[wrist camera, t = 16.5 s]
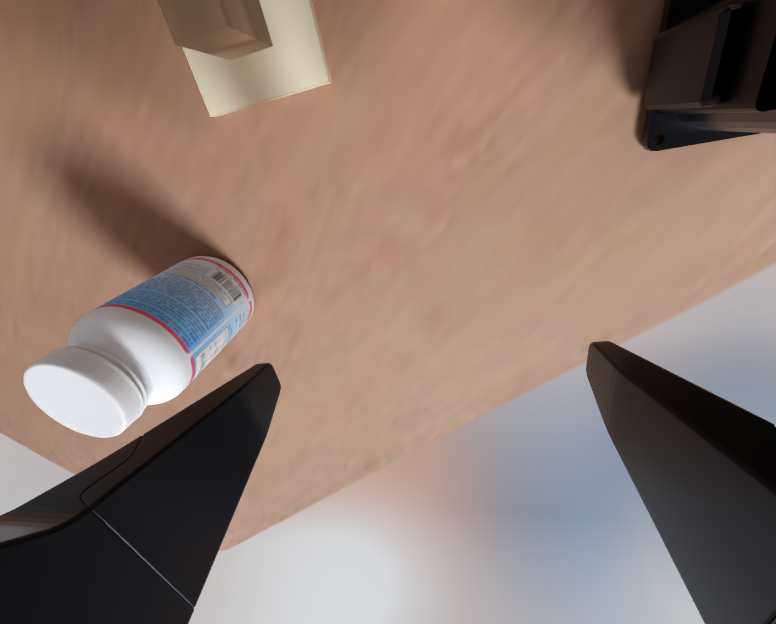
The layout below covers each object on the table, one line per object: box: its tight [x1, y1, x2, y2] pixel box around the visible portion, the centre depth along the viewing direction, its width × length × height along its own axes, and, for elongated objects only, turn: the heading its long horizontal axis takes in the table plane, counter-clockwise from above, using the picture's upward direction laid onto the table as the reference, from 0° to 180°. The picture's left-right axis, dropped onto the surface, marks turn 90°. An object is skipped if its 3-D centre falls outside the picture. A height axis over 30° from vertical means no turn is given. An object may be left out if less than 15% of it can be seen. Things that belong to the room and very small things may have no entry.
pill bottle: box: [23, 256, 254, 438], centre depth 20 cm, size 6×6×11 cm
